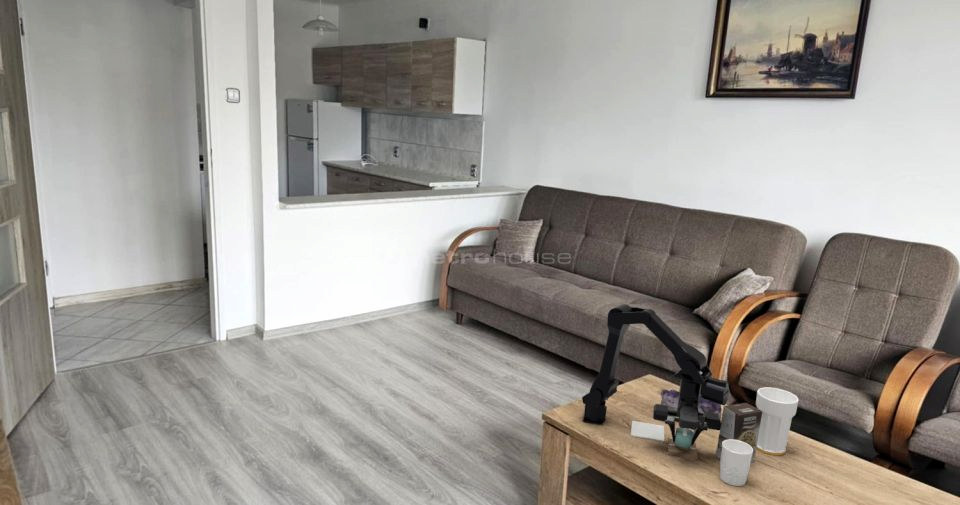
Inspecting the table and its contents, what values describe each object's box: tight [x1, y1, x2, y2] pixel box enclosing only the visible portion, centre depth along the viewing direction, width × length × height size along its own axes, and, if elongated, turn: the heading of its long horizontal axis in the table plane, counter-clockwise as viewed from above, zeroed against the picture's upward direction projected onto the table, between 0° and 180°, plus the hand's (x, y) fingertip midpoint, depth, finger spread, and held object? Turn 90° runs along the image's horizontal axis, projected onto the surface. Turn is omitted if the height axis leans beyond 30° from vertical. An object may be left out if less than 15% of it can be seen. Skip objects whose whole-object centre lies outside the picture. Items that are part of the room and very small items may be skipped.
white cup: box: [719, 439, 753, 487], centre depth 173 cm, size 8×8×10 cm
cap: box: [674, 427, 693, 448], centre depth 186 cm, size 6×5×5 cm
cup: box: [755, 386, 800, 457], centre depth 190 cm, size 11×11×17 cm
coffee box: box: [715, 402, 762, 463], centre depth 183 cm, size 9×6×16 cm
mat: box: [630, 420, 665, 443], centre depth 198 cm, size 10×10×1 cm
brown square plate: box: [667, 437, 698, 461], centre depth 187 cm, size 8×8×2 cm
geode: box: [659, 388, 723, 421], centre depth 208 cm, size 20×12×10 cm, turn 65°
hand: (682, 443), depth 187 cm, fingers closed on cap, 5 cm apart
